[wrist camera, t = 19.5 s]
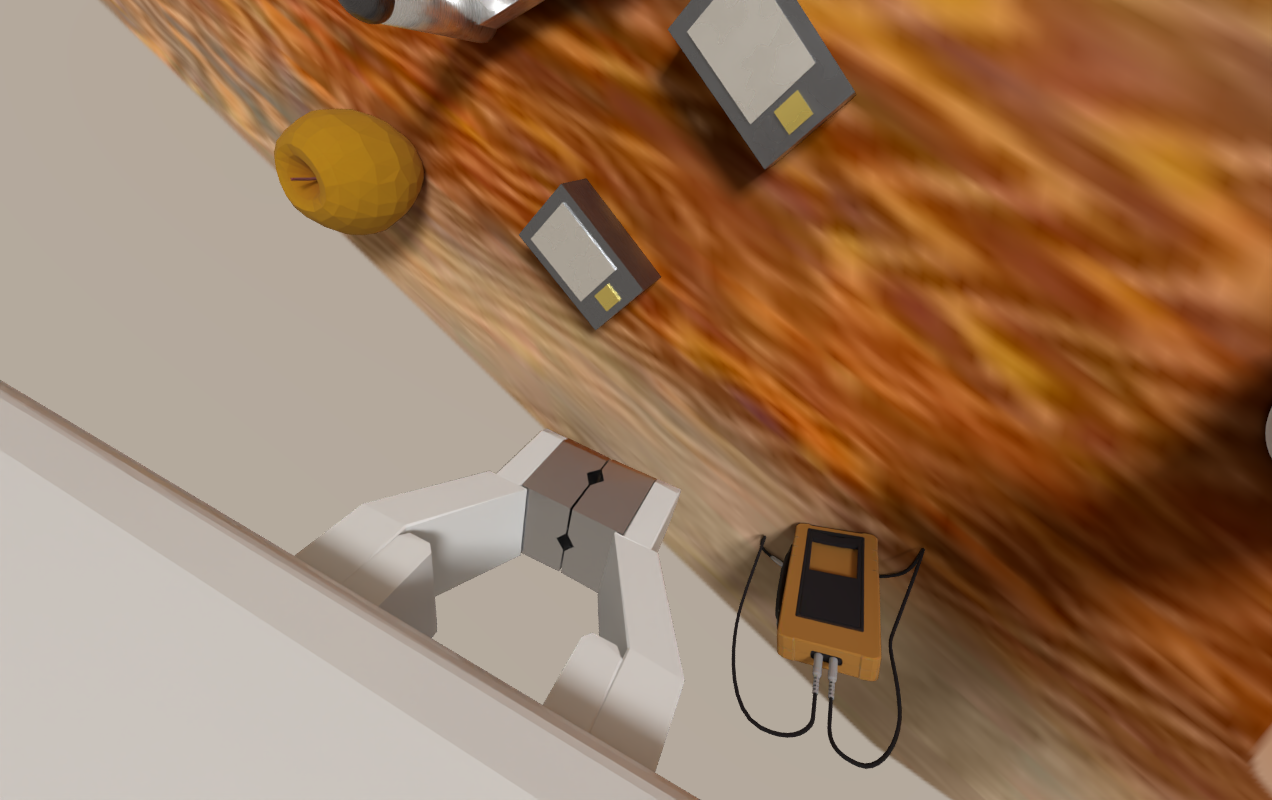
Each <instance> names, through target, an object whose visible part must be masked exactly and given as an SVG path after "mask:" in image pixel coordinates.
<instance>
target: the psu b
mask: <svg viewBox="0 0 1272 800" xmlns="http://www.w3.org/2000/svg"><path fill="white" fill-rule="evenodd" d="M668 30H669V32H670V33H671V35H672V36H673V37H674V39H675V40H676V42H677V43H678V45H679V46H680V48H681V49H682V50H683V52H684V53H685V55H686V56H687V58H688V59H689V61H690V62H691V64H692V65H693V66H694V68H695V69H696V71H697V72H698V74H699V75H700V77H701V78H702V79H703V81H704V82H705V84H706V85H707V87H708V88H709V90H710V91H711V92H712V94H713V95H714V97H715V98H716V100H717V101H718V103H719V104H720V105H721V107H722V108H723V110H724V111H725V113H726V114H727V116H728V117H729V119H730V120H731V121H732V123H733V124H734V126H735V127H736V129H737V130H738V132H739V133H740V134H741V136H742V137H743V139H744V140H745V142H746V143H747V145H748V146H749V147H750V149H751V150H752V152H753V153H754V155H755V156H756V158H757V159H758V161H759V162H760V163H761V165H762V166H763V168H764V169H767V168H769V167H771V166H773V165H775V164H776V163H777V162H778V161H779V160H780V159H782V158H783V157H784V156H785V155H786V154H787V153H789V152H790V151H791V150H792V149H793V148H795V147H796V146H797V145H798V144H799V143H800V142H802V141H803V140H804V139H805V138H806V137H807V136H809V135H810V134H811V133H812V132H813V131H814V130H816V129H817V128H818V127H819V126H820V125H821V124H823V123H824V122H825V121H826V120H827V119H828V118H830V117H831V116H832V115H833V114H834V113H836V112H837V111H838V110H839V109H840V108H841V107H843V106H844V105H845V104H846V103H847V102H848V101H850V100H851V99H852V98H853V97H854V96H855V95H856V93H855V91H854V89H853V88H852V86H851V85H850V83H849V82H848V80H847V79H846V77H845V75H844V74H843V72H842V71H841V69H840V68H839V66H838V64H837V63H836V61H835V60H834V58H833V57H832V55H831V53H830V52H829V50H828V49H827V47H826V46H825V44H824V42H823V41H822V39H821V38H820V36H819V35H818V33H817V31H816V30H815V28H814V27H813V25H812V24H811V22H810V20H809V19H808V17H807V16H806V14H805V13H804V11H803V9H802V8H801V6H800V5H799V3H798V2H797V0H691V1H690V2H689V4H688V5H687V6H686V7H685V9H684V10H683V11H682V12H681V14H680V15H679V16H678V17H677V19H676V20H675V21H674V22H673V24H672V25H671V26H670V27H669V29H668Z"/></svg>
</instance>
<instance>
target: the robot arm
mask: <svg viewBox="0 0 1272 800" xmlns="http://www.w3.org/2000/svg"><path fill="white" fill-rule="evenodd" d="M1265 435H1266V444H1267V448H1268V451H1269V454H1270V456H1271V458H1272V408H1271V410H1270V412H1269V415H1268V418H1267V423H1266V432H1265ZM680 493H681V490H680V489H679V488H677V487H675V486H672V485H670V484H668V483H665V482H663V481H661V480H658V479H656V478H653V477H651V476H649V475H647V474H644V473H642V472H640V471H638V470H635V469H633V468H631V467H629V466H626V465H624V464H622V463H620V462H617V461H615V460H611V459H610V458H608V457H606V456H604V455H602V454H600V453H598V452H596V451H594V450H591V449H589V448H587V447H585V446H583V445H581V444H579V443H577V442H575V441H573V440H571V439H569V438H568V439H567V438H565V437H563V436H561V435H559V434H557V433H555V432H553V431H551V430H549V429H545V430H543V431H540V432H539V433H538V434H537V435H536V436H535V437H534V438H533V439H532V440H531V441H530V442H529V443H528V444H527V445H525V446H524V447H523V448H522V449H521V450H520V451H519V452H518V453H517V454H516V455H515V456H514V457H513V458H512V459H511V460H510V461H509V462H508V463H507V464H505V466H504V467H502V468H501V469H500V470H499V472H497V473H494V472H492V471H486V472H483V473H479V474H475V475H471V476H467V477H463V478H459V479H456V480H452V481H448V482H444V483H440V484H437V485H433V486H429V487H425V488H421V489H417V490H414V491H410V492H406V493H402V494H398V495H395V496H391V497H387V498H383V499H379V500H375V501H371V502H368V503H364V504H362V505H360V506H359V507H358V508H356V509H355V510H354V511H353V512H351V513H350V514H349V515H347V516H346V517H345V518H343V519H342V520H341V521H339V522H338V523H337V524H335V525H334V526H333V527H332V528H330V529H329V530H328V531H326V532H325V533H324V534H322V535H321V536H320V537H318V538H317V539H316V540H314V541H313V542H312V543H310V544H309V545H308V546H306V547H305V548H304V549H302V550H301V551H300V552H299V553H297V554H296V555H295V556H293V555H292V554H290V553H288V552H286V551H285V550H283V549H281V548H280V547H278V546H276V545H275V544H273V543H271V542H270V541H268V540H266V539H265V538H263V537H261V536H260V535H258V534H256V533H255V532H253V531H251V530H250V529H248V528H246V527H245V526H243V525H241V524H240V523H238V522H236V521H235V520H233V519H231V518H229V517H228V516H226V515H225V514H223V513H221V512H220V511H218V510H216V509H215V508H213V507H211V506H209V505H208V504H206V503H205V502H203V501H201V500H199V499H198V498H196V497H195V496H193V495H191V494H189V493H188V492H186V491H185V490H183V489H181V488H179V487H178V486H176V485H175V484H173V483H171V482H170V481H168V480H166V479H165V478H163V477H161V476H160V475H158V474H156V473H155V472H153V471H151V470H150V469H148V468H146V467H145V466H143V465H141V464H140V463H138V462H136V461H135V460H133V459H131V458H129V457H128V456H126V455H125V454H123V453H121V452H120V451H118V450H116V449H114V448H113V447H111V446H110V445H108V444H106V443H105V442H103V441H101V440H100V439H98V438H96V437H94V436H93V435H91V434H90V433H88V432H86V431H85V430H83V429H81V428H79V427H78V426H76V425H74V424H73V423H71V422H70V421H68V420H66V419H64V418H63V417H61V416H60V415H58V414H56V413H55V412H53V411H51V410H49V409H48V408H46V407H45V406H43V405H41V404H40V403H38V402H36V401H34V400H33V399H31V398H30V397H28V396H26V395H25V394H23V393H21V392H20V391H18V390H16V389H15V388H13V387H11V386H9V385H8V384H6V383H5V382H3V381H1V380H0V800H700V799H698V798H696V797H695V796H693V795H691V794H690V793H688V792H686V791H685V790H683V789H681V788H680V787H678V786H676V785H675V784H673V783H671V782H670V781H668V780H666V779H665V778H663V777H661V776H660V775H658V774H656V773H655V771H656V768H657V765H658V762H659V758H660V756H661V753H662V749H663V746H664V743H665V740H666V737H667V734H668V731H669V728H670V725H671V722H672V719H673V715H674V712H675V709H676V706H677V703H678V700H679V697H680V694H681V691H682V688H683V684H684V675H683V670H682V666H681V660H680V656H679V651H678V646H677V641H676V636H675V632H674V626H673V622H672V617H671V612H670V608H669V602H668V598H667V593H666V588H665V583H664V578H663V573H662V568H661V564H660V559H659V554H658V550H659V548H660V545H661V543H662V541H663V538H664V536H665V533H666V531H667V528H668V526H669V523H670V520H671V518H672V515H673V512H674V510H675V507H676V504H677V502H678V499H679V496H680ZM521 553H523V554H525V555H527V556H529V557H531V558H533V559H535V560H537V561H539V562H541V563H543V564H545V565H547V566H549V567H551V568H553V569H555V570H558V571H559V570H560V569H561V568H562V570H561V573H563V574H565V575H567V576H568V577H570V578H572V579H574V580H576V581H577V582H580V583H581V584H583V585H585V586H586V587H588V588H590V589H592V590H594V591H595V592H597V593H598V616H599V636H598V635H596V634H594V633H590V634H587V635H585V636H582V637H581V639H580V641H579V642H578V644H577V646H576V648H575V649H574V651H573V653H572V655H571V656H570V658H569V660H568V662H567V663H566V665H565V667H564V669H563V670H562V672H561V674H560V676H559V677H558V679H557V681H556V683H555V684H554V686H553V688H552V690H551V692H550V693H549V695H548V697H547V699H546V700H545V702H544V704H543V705H541V704H540V703H538V702H537V701H535V700H533V699H532V698H530V697H528V696H527V695H525V694H523V693H522V692H520V691H518V690H517V689H515V688H513V687H512V686H510V685H508V684H506V683H505V682H503V681H501V680H500V679H498V678H497V677H495V676H493V675H492V674H490V673H488V672H487V671H485V670H483V669H482V668H480V667H478V666H477V665H475V664H473V663H471V662H470V661H468V660H467V659H465V658H463V657H461V656H460V655H458V654H457V653H454V652H453V651H452V650H450V649H448V648H446V647H445V646H443V645H442V644H440V643H438V642H437V641H435V640H433V639H432V637H433V636H434V634H435V633H436V632H437V619H436V606H435V596H437V595H439V594H441V593H443V592H445V591H448V590H450V589H452V588H454V587H456V586H458V585H460V584H462V583H464V582H466V581H468V580H470V579H472V578H474V577H477V576H478V575H481V574H483V573H485V572H487V571H489V570H491V569H493V568H495V567H497V566H499V565H501V564H503V563H505V562H507V561H509V560H511V559H513V558H516V557H518V556H520V554H521Z"/></svg>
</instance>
